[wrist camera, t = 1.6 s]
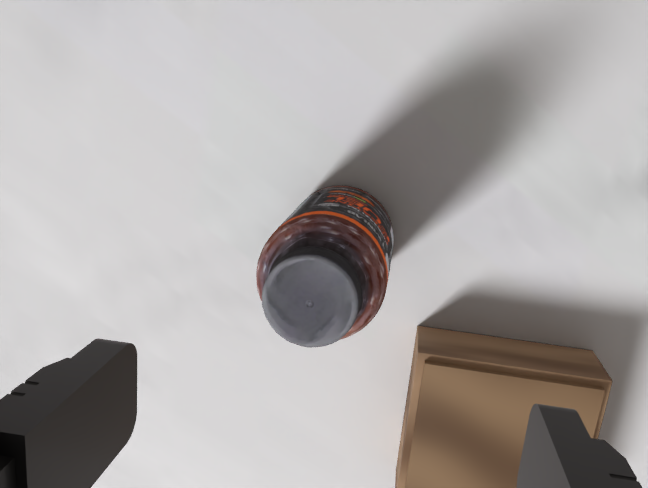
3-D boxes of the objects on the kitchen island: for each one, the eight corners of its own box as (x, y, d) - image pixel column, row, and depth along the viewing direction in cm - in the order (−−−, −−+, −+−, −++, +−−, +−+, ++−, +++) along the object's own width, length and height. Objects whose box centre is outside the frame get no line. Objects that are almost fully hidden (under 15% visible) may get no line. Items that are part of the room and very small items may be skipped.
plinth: (417, 325, 36) (418, 355, 32) (592, 350, 35) (614, 384, 31) (396, 469, 38) (394, 512, 35) (557, 496, 37) (573, 544, 34)
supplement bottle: (412, 208, 34) (411, 271, 23) (368, 298, 36) (349, 395, 25) (315, 165, 34) (269, 207, 23) (276, 256, 36) (217, 335, 25)
